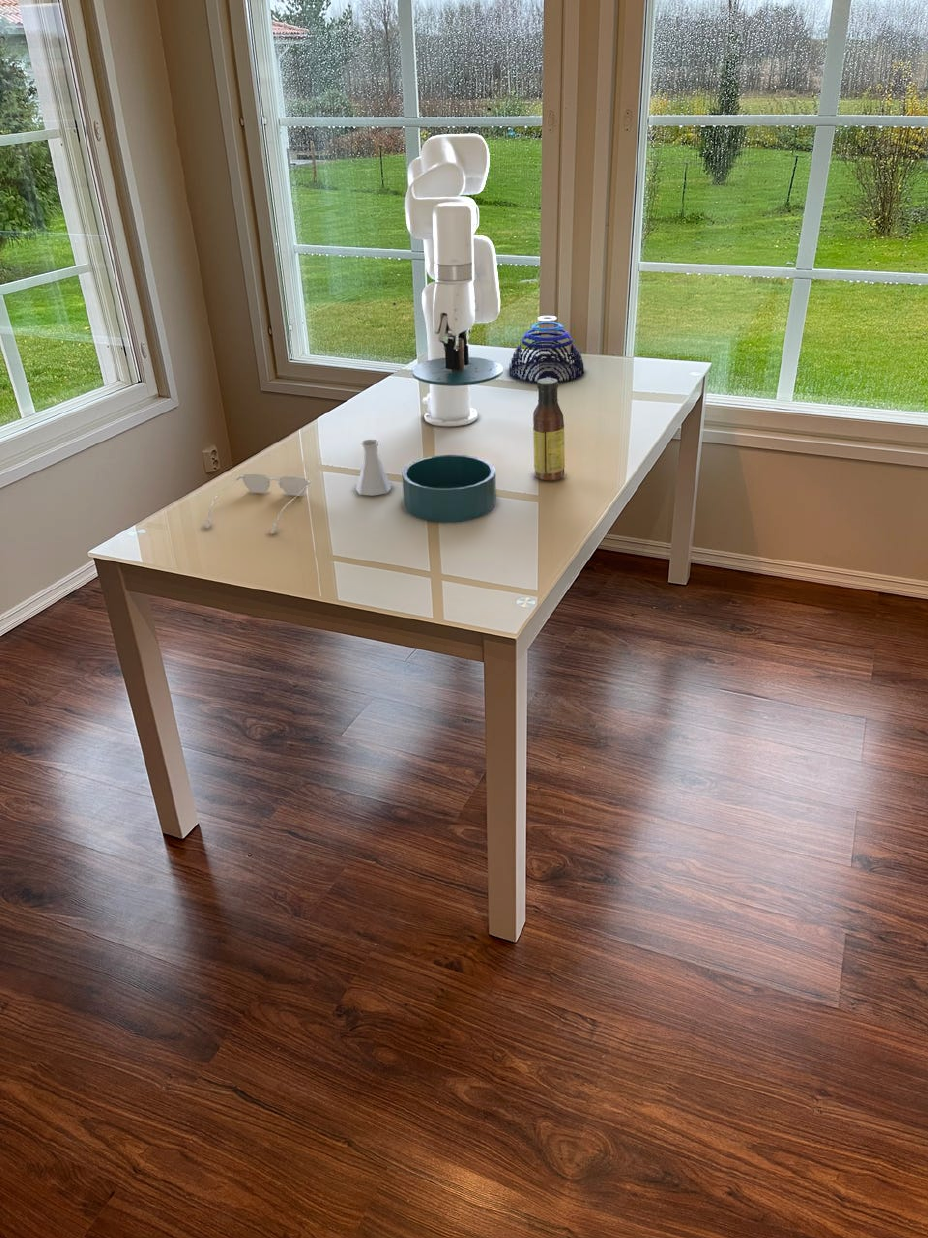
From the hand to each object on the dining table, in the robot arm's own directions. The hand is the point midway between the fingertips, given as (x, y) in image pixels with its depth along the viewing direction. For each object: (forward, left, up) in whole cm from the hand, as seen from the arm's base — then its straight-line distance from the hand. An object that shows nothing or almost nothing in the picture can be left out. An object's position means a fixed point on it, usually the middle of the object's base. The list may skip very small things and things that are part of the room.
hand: (457, 365), depth 193 cm
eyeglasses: (-9, -45, -20) cm, 50 cm away
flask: (-1, -23, -20) cm, 31 cm away
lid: (0, 0, -1) cm, 1 cm away
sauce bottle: (+20, +6, -20) cm, 29 cm away
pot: (+15, -17, -20) cm, 30 cm away
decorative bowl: (-29, +60, -20) cm, 70 cm away
